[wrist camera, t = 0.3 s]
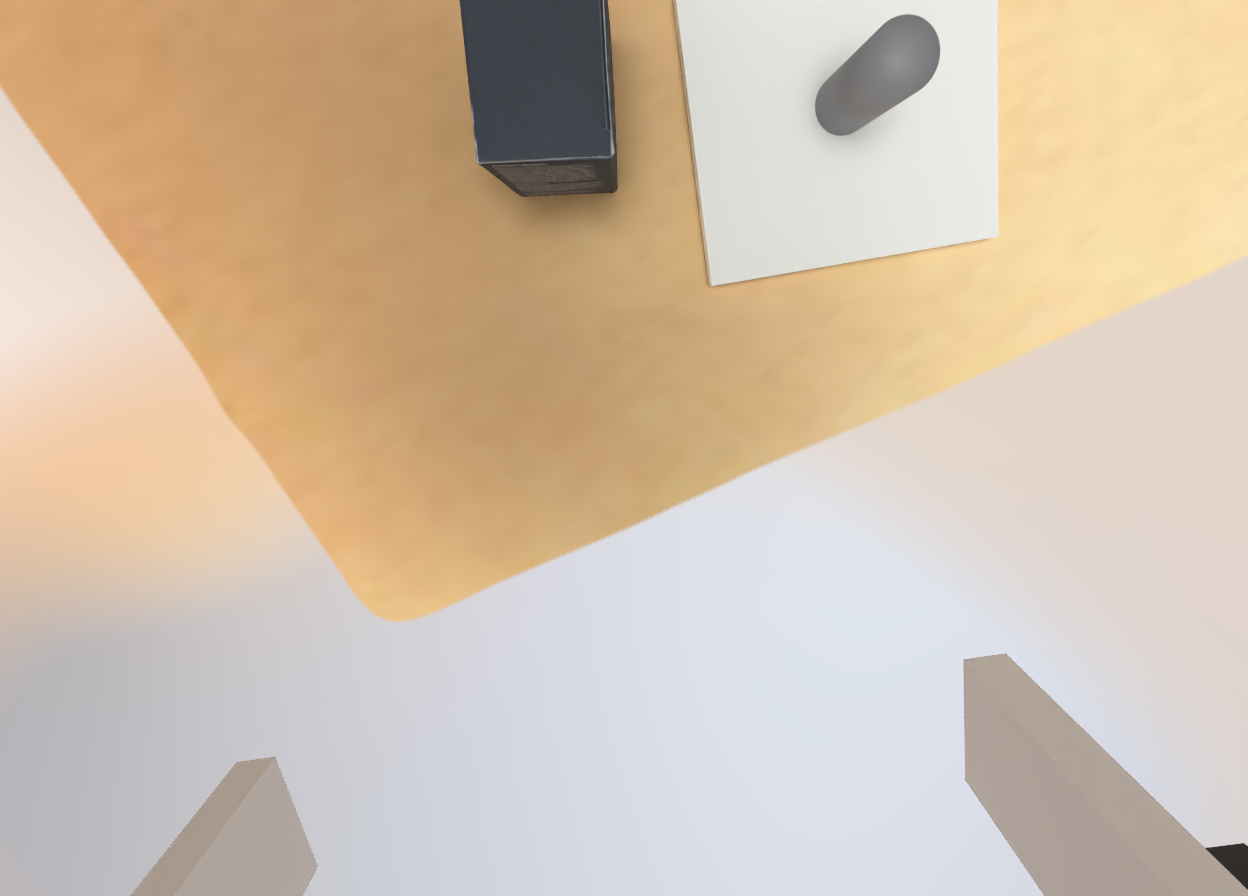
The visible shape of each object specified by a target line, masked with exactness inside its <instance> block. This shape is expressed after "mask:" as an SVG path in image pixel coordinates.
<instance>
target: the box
mask: <svg viewBox="0 0 1248 896" xmlns="http://www.w3.org/2000/svg"><path fill="white" fill-rule="evenodd" d="M460 7H461V17H462V27H463V35H464V45H465V55H466V65H467V73H468V82H469V92H470V101H471V108H472V119H473V129H474V137H475V148H476V158H477V163H478V164H479V165H481V166H483V167H484V168H485V169H486V170H488V171H489V172H490V173H492V174H493V175H494V176H495V177H497V178H498V179H500V180H501V181H502V182H503V183H505V184H506V185H507V186H509V187H510V188H511V189H512V190H514V191H515V192H516V193H517V194H519V195H520V196H523V197H524V196H543V195H545V196H547V195H566V194H591V193H613V192H615V191H616V190H617V152H616V149H617V146H616V126H615V105H614V86H613V69H612V52H611V35H610V21H609V10H608V0H460Z"/></svg>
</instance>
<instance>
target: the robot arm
mask: <svg viewBox="0 0 1248 896" xmlns="http://www.w3.org/2000/svg"><path fill="white" fill-rule="evenodd" d="M964 715H965V716H964V719H965V721H964V722H965V780H966V782H967V783H968V784H969V786H970V788H971V789H972V790H973V792H974V794H975V795H976V796H977V798H978V799H979V801H980V802H981V804H982V805H983V807H984V808H985V810H986V811H987V813H988V814H989V815H990V817H991V818H992V820H993V821H994V823H995V824H996V826H997V827H998V829H999V830H1000V831H1001V833H1002V834H1003V836H1004V837H1005V839H1006V840H1007V842H1008V843H1009V845H1010V846H1011V848H1012V849H1013V850H1014V852H1015V853H1016V855H1017V856H1018V858H1019V859H1020V861H1021V862H1022V864H1023V865H1024V867H1025V868H1026V870H1027V871H1028V872H1029V874H1030V875H1031V877H1032V878H1033V880H1034V881H1035V883H1036V884H1037V885H1038V887H1039V889H1040V890H1041V891H1042V893H1043V894H1044V896H1248V846H1247V845H1245V844H1244V843H1242V844H1234V845H1226V846H1219V847H1212V848H1204V847H1203V846H1202V845H1201V844H1200V843H1199V842H1198V841H1197V840H1196V839H1195V838H1194V837H1193V836H1192V835H1191V834H1190V833H1189V832H1188V831H1187V830H1186V829H1185V828H1184V827H1183V826H1182V825H1181V824H1180V823H1179V822H1178V821H1176V819H1174V817H1173V816H1171V814H1169V813H1168V812H1167V811H1166V810H1165V809H1164V808H1163V807H1162V806H1161V805H1160V804H1159V803H1158V802H1157V801H1156V800H1155V799H1154V798H1153V797H1152V796H1151V795H1150V794H1149V793H1148V792H1147V791H1146V790H1145V789H1144V788H1143V787H1142V786H1141V785H1140V784H1139V783H1137V781H1136V780H1135V779H1134V778H1133V777H1132V776H1131V775H1130V774H1129V773H1128V772H1127V771H1125V770H1124V769H1123V768H1122V767H1121V766H1120V765H1119V764H1118V763H1117V762H1116V761H1115V760H1114V759H1113V758H1112V757H1111V756H1110V755H1109V754H1108V753H1107V752H1106V751H1105V750H1104V749H1103V748H1102V747H1101V746H1100V745H1099V744H1098V743H1097V742H1096V741H1095V740H1094V739H1093V738H1092V737H1091V736H1090V735H1089V734H1088V733H1087V732H1086V731H1085V730H1084V729H1083V728H1081V727H1080V726H1079V725H1078V724H1077V723H1076V722H1075V721H1074V720H1073V719H1072V718H1071V717H1070V716H1069V715H1068V714H1067V713H1066V712H1065V711H1064V710H1063V709H1062V708H1061V707H1060V706H1059V705H1058V704H1057V703H1056V702H1055V701H1054V700H1053V699H1052V698H1051V697H1050V696H1049V695H1048V694H1047V693H1046V692H1045V691H1044V690H1042V688H1040V686H1038V684H1036V683H1035V682H1034V681H1033V680H1032V679H1031V678H1030V677H1029V676H1028V675H1027V674H1026V673H1025V672H1024V671H1023V670H1022V669H1021V668H1020V667H1019V666H1018V665H1017V664H1016V663H1015V662H1014V661H1013V660H1012V659H1011V658H1010V657H1009V656H1008V655H1007V654H999V655H992V656H985V657H978V658H972V659H964ZM317 867H318V866H317V863H316V861H315V858H314V855H313V853H312V850H311V848H310V845H309V843H308V840H307V838H306V835H305V832H304V830H303V827H302V825H301V822H300V819H299V817H298V814H297V812H296V809H295V807H294V804H293V801H292V799H291V797H290V794H289V791H288V789H287V786H286V784H285V781H284V778H283V776H282V773H281V771H280V768H279V766H278V763H277V760H276V758H275V757H270V758H263V759H256V760H249V761H242V762H237V763H236V764H235V765H234V766H233V768H232V769H231V770H230V772H229V773H228V774H227V775H226V777H225V778H224V779H223V780H222V782H221V783H220V784H219V785H218V787H217V788H216V789H215V790H214V792H213V793H212V794H211V796H210V797H209V798H208V799H207V801H206V802H205V803H204V804H203V805H202V807H201V808H200V809H199V811H198V812H197V813H196V815H194V817H193V818H192V819H191V821H190V822H189V823H188V824H187V826H186V827H185V828H184V829H183V831H182V832H181V833H180V834H179V836H178V837H177V838H176V839H175V841H174V842H173V843H172V844H171V846H170V847H169V848H168V849H167V851H166V852H165V853H164V854H163V856H162V857H161V858H160V859H159V861H158V862H157V863H156V864H155V866H154V867H153V868H152V869H151V871H150V872H149V873H148V874H147V876H146V877H145V878H144V879H143V881H142V882H141V883H140V884H139V886H138V887H137V888H136V889H135V891H134V892H133V893H132V894H131V896H303V894H304V892H305V890H306V888H307V886H308V884H309V882H310V880H311V878H312V877H313V875H314V872H315V871H316V869H317Z"/></svg>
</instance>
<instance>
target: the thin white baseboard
mask: <svg viewBox="0 0 1248 896" xmlns="http://www.w3.org/2000/svg"><path fill="white" fill-rule="evenodd" d="M673 6H674V14H675V22H676V30H677V38H678V46H679V54H680V62H681V70H682V78H683V85H684V93H685V101H686V109H687V117H688V125H689V133H690V141H691V149H692V157H693V165H694V173H695V181H696V189H697V197H698V204H699V212H700V220H701V228H702V236H703V244H704V252H705V260H706V268H707V276H708V284H709V286H716V285H722V284H727V283H733V282H739V281H745V280H751V279H756V278H762V277H768V276H774V275H780V274H785V273H791V272H797V271H803V270H808V269H814V268H820V267H826V266H832V265H837V264H843V263H849V262H855V261H861V260H866V259H872V258H878V257H884V256H889V255H895V254H901V253H907V252H913V251H918V250H924V249H930V248H936V247H942V246H947V245H953V244H959V243H965V242H971V241H976V240H982V239H988V238H994V237H999V191H998V0H673Z"/></svg>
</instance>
